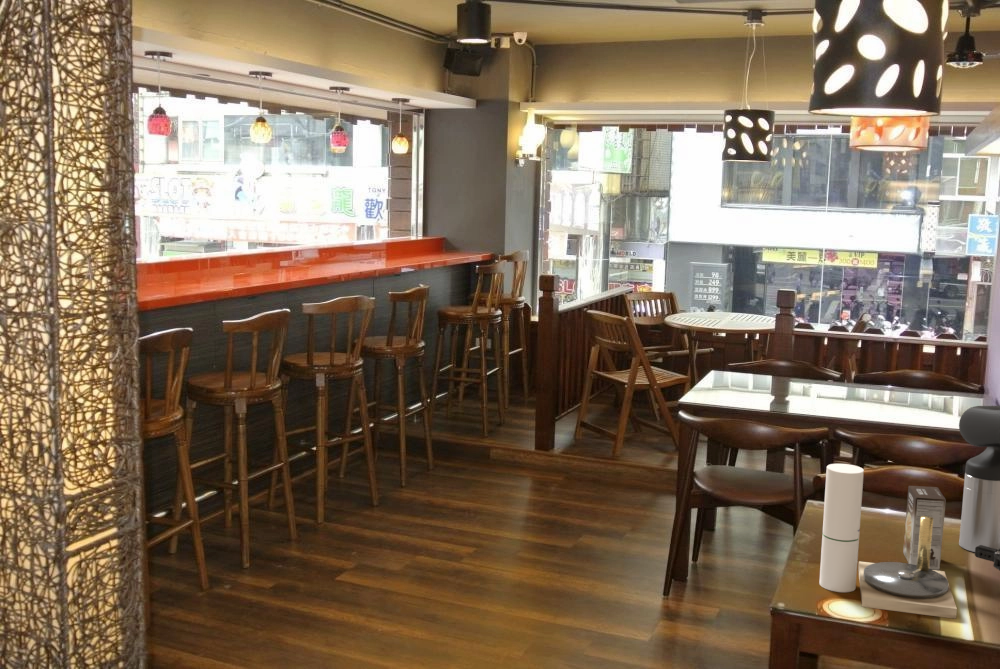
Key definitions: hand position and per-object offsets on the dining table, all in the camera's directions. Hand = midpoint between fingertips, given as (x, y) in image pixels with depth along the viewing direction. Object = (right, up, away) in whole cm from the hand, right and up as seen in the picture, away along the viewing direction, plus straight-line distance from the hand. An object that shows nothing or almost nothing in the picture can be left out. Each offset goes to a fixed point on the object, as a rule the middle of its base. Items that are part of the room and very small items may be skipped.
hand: (976, 550), depth 200 cm
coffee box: (-2, -8, +23) cm, 24 cm away
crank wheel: (-12, -7, +5) cm, 15 cm away
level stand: (-12, -10, +5) cm, 16 cm away
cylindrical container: (-25, -9, +9) cm, 28 cm away
